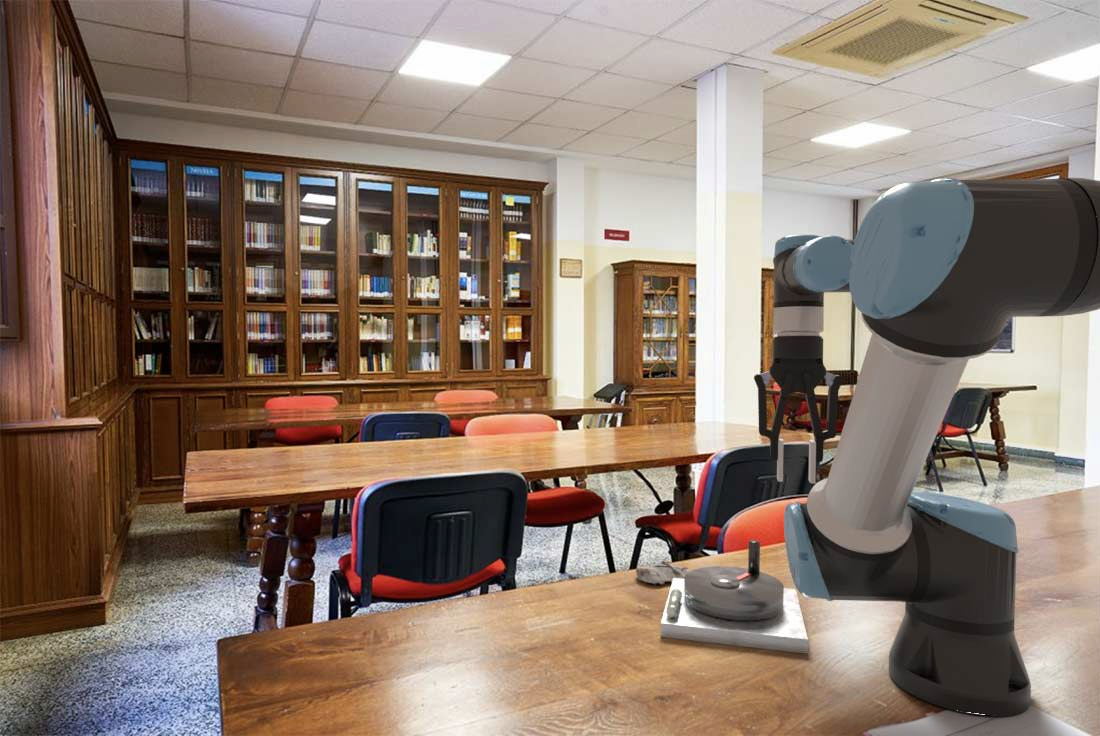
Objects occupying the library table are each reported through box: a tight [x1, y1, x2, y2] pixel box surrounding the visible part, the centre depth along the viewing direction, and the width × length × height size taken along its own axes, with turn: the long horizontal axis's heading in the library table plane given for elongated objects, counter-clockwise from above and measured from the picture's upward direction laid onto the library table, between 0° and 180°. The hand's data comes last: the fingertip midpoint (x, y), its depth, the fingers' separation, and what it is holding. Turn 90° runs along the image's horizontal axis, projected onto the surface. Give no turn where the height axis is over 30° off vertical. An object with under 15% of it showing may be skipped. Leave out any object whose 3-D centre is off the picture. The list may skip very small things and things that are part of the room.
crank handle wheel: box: [683, 539, 785, 620], centre depth 106 cm, size 15×15×8 cm
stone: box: [635, 560, 691, 586], centre depth 123 cm, size 10×7×3 cm
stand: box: [660, 578, 809, 655], centre depth 105 cm, size 20×20×4 cm
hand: (795, 480), depth 108 cm, fingers open, 4 cm apart
